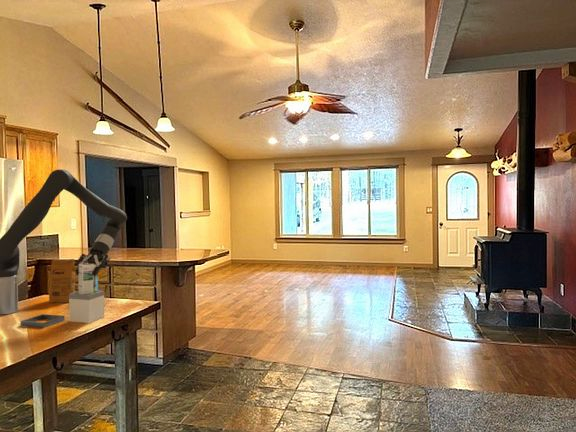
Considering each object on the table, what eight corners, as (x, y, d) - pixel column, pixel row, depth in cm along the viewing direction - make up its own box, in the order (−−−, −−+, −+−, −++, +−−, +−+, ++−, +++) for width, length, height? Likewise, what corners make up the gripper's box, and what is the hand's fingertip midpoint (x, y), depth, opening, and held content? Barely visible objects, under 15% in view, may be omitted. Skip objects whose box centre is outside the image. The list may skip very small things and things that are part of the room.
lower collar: (20, 325, 178) (20, 321, 178) (42, 318, 190) (42, 314, 189) (43, 327, 176) (43, 323, 176) (64, 320, 187) (64, 315, 187)
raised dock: (69, 321, 185) (69, 294, 185) (85, 315, 195) (85, 289, 195) (89, 323, 183) (88, 295, 183) (104, 316, 193) (104, 290, 192)
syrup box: (81, 298, 185) (82, 265, 185) (78, 296, 189) (78, 263, 189) (95, 297, 188) (96, 264, 188) (91, 294, 193) (92, 262, 193)
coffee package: (53, 299, 227) (52, 258, 226) (78, 298, 229) (77, 257, 228) (45, 303, 217) (45, 260, 216) (71, 302, 219) (71, 260, 218)
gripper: (85, 240, 197) (67, 268, 186) (111, 241, 194) (95, 270, 183) (93, 250, 203) (75, 278, 192) (119, 251, 199) (103, 280, 188)
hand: (85, 274), depth 187 cm, fingers open, 8 cm apart
